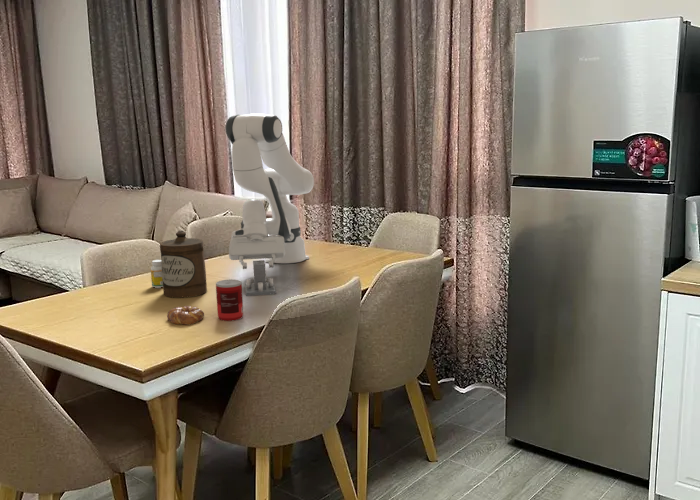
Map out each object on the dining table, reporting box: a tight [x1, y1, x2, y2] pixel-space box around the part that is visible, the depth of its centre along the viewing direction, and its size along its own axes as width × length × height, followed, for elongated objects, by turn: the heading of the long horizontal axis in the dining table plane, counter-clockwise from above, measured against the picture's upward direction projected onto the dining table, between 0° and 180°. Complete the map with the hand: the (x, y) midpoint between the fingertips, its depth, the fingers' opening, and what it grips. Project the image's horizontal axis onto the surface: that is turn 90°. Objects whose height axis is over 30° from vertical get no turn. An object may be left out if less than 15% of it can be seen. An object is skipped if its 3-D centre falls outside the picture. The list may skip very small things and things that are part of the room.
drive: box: [252, 259, 267, 290], centre depth 239 cm, size 7×4×9 cm, turn 10°
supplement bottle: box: [150, 259, 163, 289], centre depth 248 cm, size 5×5×10 cm
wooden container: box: [159, 230, 208, 299], centre depth 237 cm, size 15×15×22 cm
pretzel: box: [166, 305, 205, 326], centre depth 206 cm, size 12×11×4 cm
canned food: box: [215, 278, 244, 322], centre depth 206 cm, size 8×8×11 cm
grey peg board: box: [244, 277, 277, 297], centre depth 239 cm, size 13×10×4 cm
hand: (258, 267), depth 245 cm, fingers open, 8 cm apart
